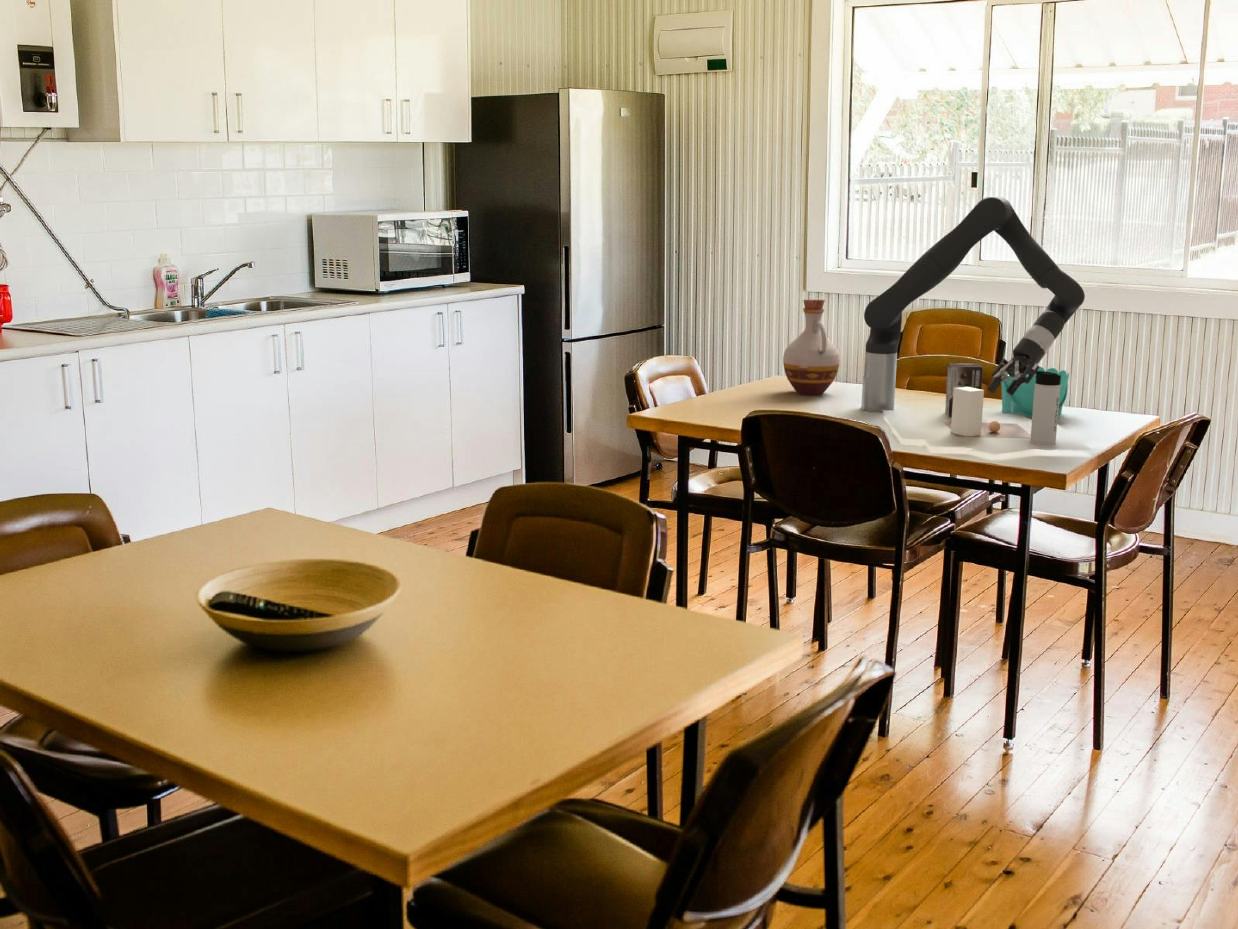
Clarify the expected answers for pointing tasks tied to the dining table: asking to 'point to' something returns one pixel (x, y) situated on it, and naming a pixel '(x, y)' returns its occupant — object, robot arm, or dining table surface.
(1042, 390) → the travel mug
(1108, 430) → the dining table surface
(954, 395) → the cream tall block
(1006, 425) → the board
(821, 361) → the jug
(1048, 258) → the robot arm
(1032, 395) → the basket
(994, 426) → the ball
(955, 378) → the coffee box
